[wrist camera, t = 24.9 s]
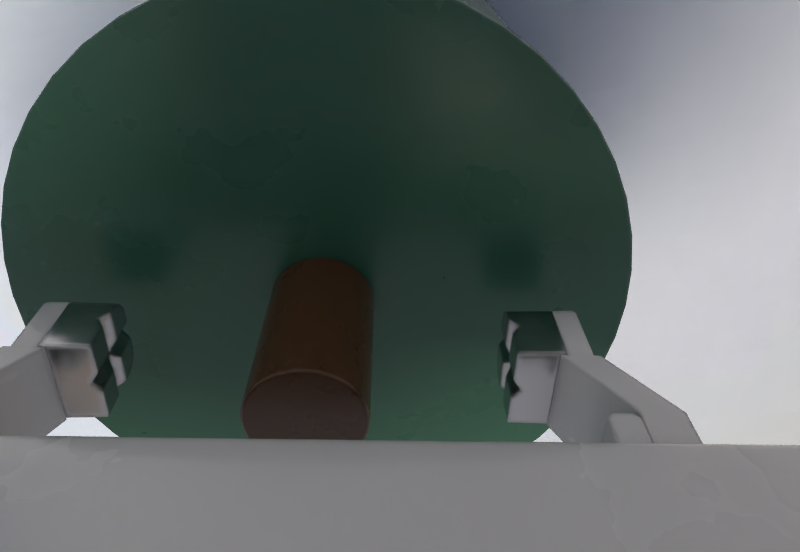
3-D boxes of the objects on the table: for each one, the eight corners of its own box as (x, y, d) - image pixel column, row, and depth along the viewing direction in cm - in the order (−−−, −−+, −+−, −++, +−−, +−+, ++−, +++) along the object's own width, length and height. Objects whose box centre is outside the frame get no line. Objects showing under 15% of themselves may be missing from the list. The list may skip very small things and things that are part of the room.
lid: (-65, -54, 13) (-296, -8, 8) (685, -31, 13) (830, 24, 9) (94, 474, 20) (14, 641, 16) (567, 478, 21) (614, 642, 16)
